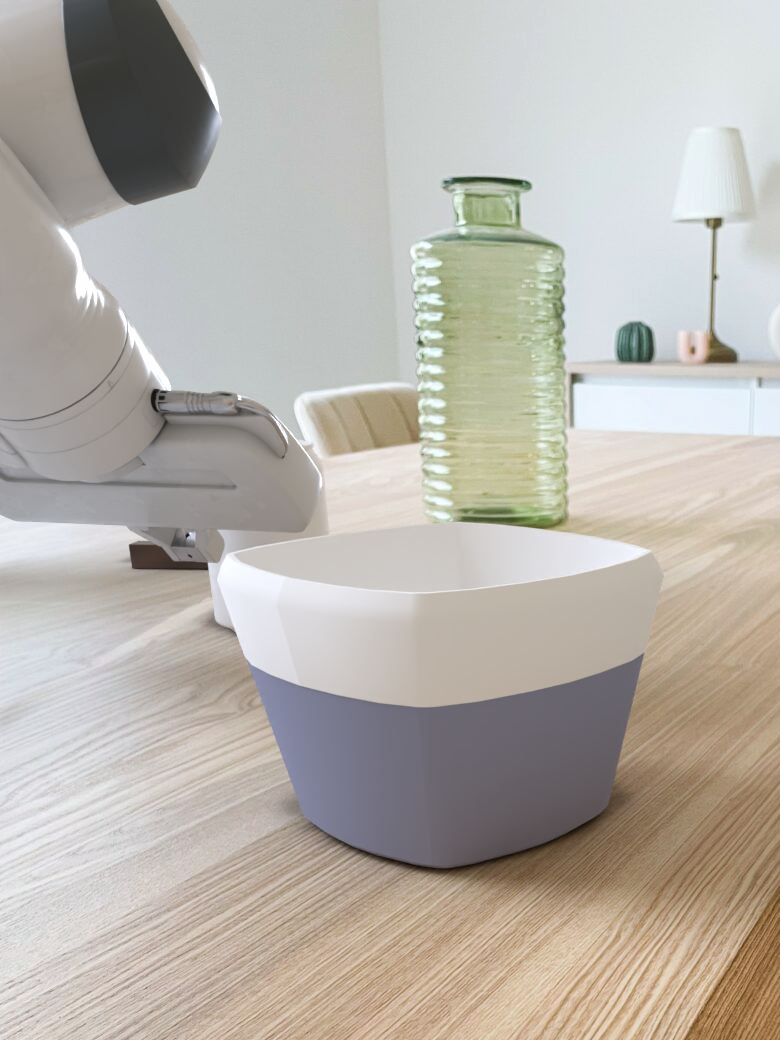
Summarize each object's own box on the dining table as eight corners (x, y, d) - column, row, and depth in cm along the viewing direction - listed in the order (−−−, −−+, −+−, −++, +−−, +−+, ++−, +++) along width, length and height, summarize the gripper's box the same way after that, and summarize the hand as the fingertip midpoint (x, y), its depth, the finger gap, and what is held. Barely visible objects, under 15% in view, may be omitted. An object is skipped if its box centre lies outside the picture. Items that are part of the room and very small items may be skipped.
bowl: (708, 810, 56) (713, 550, 52) (431, 922, 46) (409, 608, 42) (474, 738, 66) (462, 514, 62) (200, 818, 55) (162, 553, 51)
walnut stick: (131, 568, 110) (128, 544, 109) (141, 564, 112) (137, 540, 111) (271, 569, 109) (269, 545, 108) (279, 565, 111) (276, 542, 110)
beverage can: (245, 644, 84) (222, 452, 80) (197, 623, 90) (173, 442, 85) (358, 627, 89) (342, 444, 84) (305, 608, 95) (288, 436, 90)
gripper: (276, 347, 66) (370, 516, 79) (-70, 343, 70) (72, 505, 83) (243, 446, 64) (345, 604, 77) (-113, 436, 68) (40, 588, 81)
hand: (201, 553), depth 80 cm, fingers closed
